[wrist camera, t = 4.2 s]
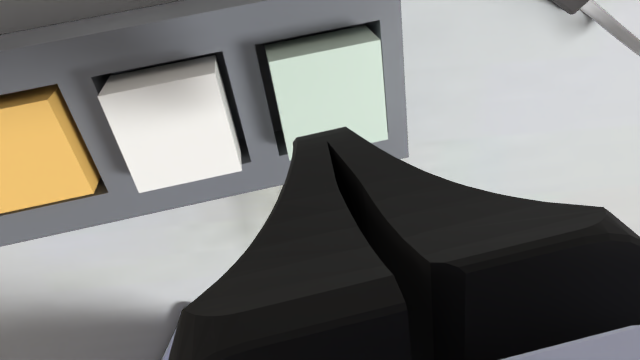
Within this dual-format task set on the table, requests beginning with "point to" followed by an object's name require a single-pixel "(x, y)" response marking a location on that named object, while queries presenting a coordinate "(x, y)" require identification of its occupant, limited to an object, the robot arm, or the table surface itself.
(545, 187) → the table surface
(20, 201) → the amber key
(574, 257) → the robot arm
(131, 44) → the keypad
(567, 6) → the clip-on lamp
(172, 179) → the middle key
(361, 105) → the sage key
